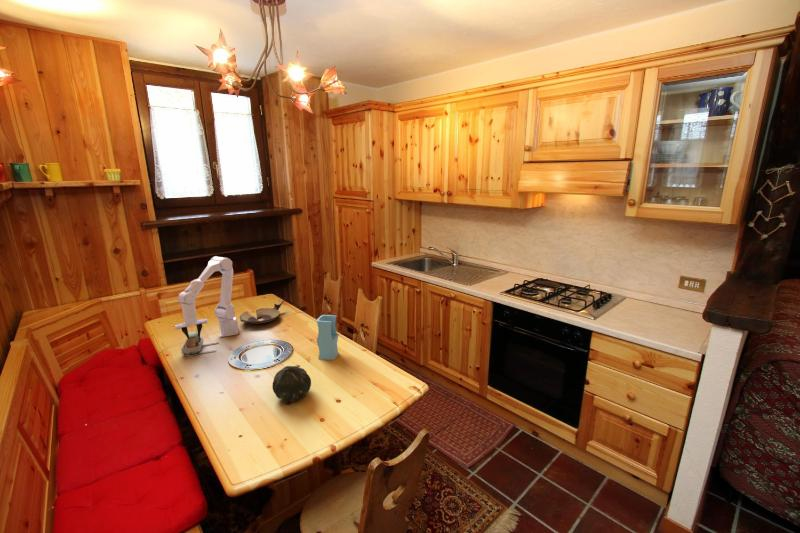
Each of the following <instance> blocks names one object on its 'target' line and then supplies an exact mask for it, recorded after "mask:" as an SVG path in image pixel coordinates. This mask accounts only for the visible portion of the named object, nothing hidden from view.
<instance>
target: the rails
mask: <svg viewBox="0 0 800 533" xmlns="http://www.w3.org/2000/svg"><path fill="white" fill-rule="evenodd" d="M219 344H220V343H219V342H218V341H217V342H212V343H203V345H202V347H205V346H213V345H219ZM210 353H217V349H214V350H213V349H212V350H208V351H207V350H206V351H200V353H197V351H195V352H189V353H187V354H186V355H182V357H183V358H187V357H191V356H196V355H197V356H198V355H205V354H210Z"/></svg>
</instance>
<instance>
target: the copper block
mask: <svg viewBox="0 0 800 533" xmlns="http://www.w3.org/2000/svg"><path fill="white" fill-rule="evenodd" d="M185 340H186V342H185V341H184V342H185V344H186V348H191V347H197V342H196V338H193V339H188V338H186V339H185Z"/></svg>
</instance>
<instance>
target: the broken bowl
mask: <svg viewBox="0 0 800 533" xmlns="http://www.w3.org/2000/svg"><path fill="white" fill-rule="evenodd" d="M283 303H284V299H282V300H280V301H279V302H277V303H274V304H273V308H271V307H270V308H268V307H267V308H266V307H263V308H261V307H260V308H259V309H256V310H255V312H256V313H255V315H256V317H255V316H253V315H252V314H251V313H249V311H245V312H243V313H241V314H240V315H239V319H240V322H242V323H243V322H244V323H245V324H246V323H248V324H255V325H256V324H257V325H259V324H266V323H269V322H271V321H274V320H276V319H277V318H279V317H280V314H281V311H279V309H280V308H281V306H282V305H283ZM258 319H261V320H258Z"/></svg>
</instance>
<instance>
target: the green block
mask: <svg viewBox="0 0 800 533" xmlns="http://www.w3.org/2000/svg"><path fill="white" fill-rule="evenodd" d="M188 335H189V339H193V338H196V342H197V343H198V342H199V337H198V331H197V330H196V331H195V330H194V331H191V332H188Z"/></svg>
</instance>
